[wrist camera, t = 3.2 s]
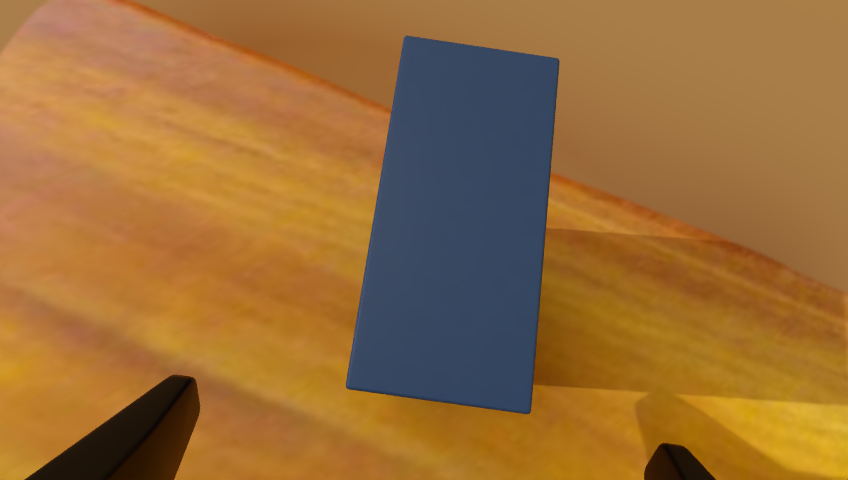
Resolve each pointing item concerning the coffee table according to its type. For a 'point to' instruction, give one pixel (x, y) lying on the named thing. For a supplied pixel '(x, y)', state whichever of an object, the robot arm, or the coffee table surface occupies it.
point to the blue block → (459, 229)
